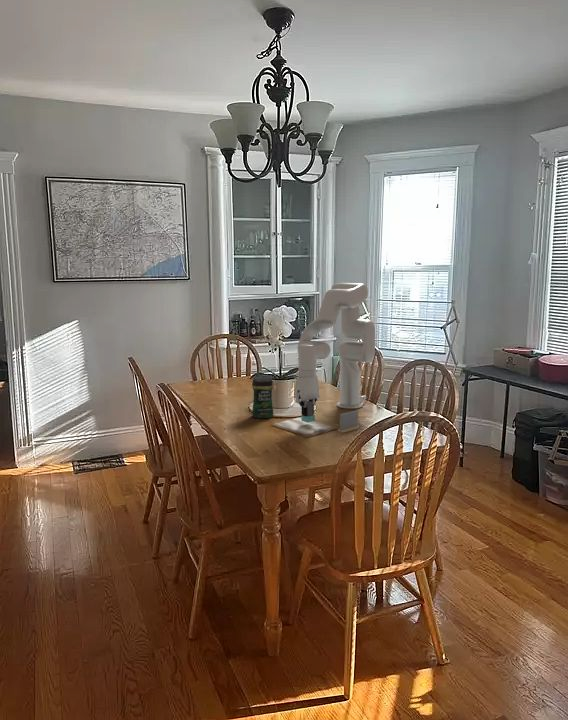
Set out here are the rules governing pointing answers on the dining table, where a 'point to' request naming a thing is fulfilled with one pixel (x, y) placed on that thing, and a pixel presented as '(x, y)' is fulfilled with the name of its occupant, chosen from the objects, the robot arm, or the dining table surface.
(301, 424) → the white flat pad
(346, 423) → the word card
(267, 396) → the coffee jar
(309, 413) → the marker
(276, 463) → the dining table surface
